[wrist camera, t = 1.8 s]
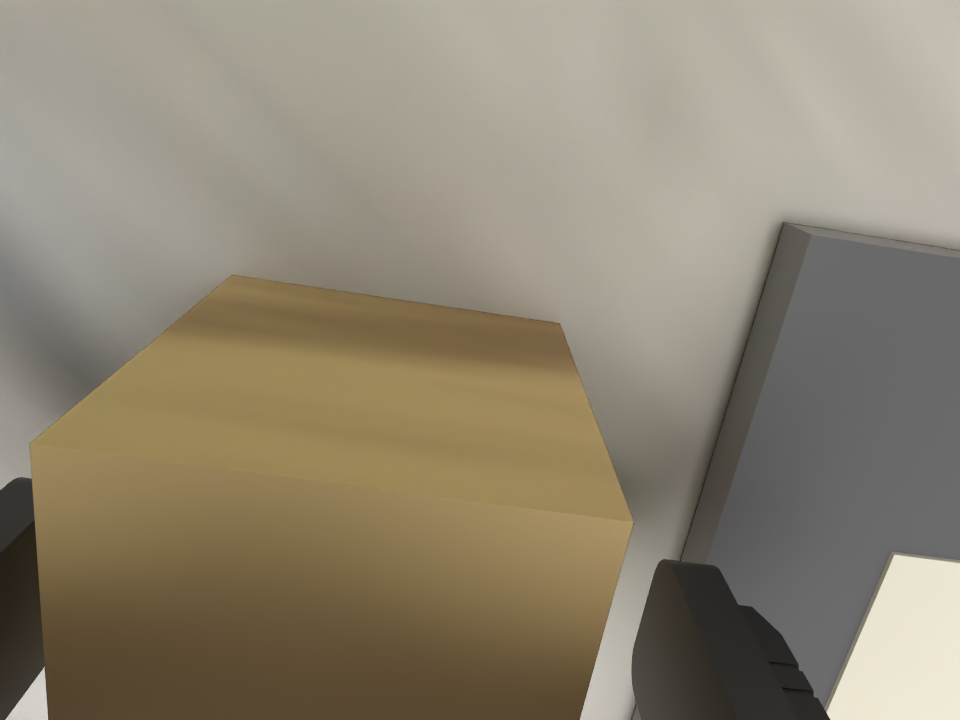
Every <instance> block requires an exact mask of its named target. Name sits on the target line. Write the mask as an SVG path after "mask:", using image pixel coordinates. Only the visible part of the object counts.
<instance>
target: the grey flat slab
mask: <svg viewBox="0 0 960 720" xmlns="http://www.w3.org/2000/svg"><path fill="white" fill-rule="evenodd" d="M681 561H683V562H691V563H699V564H707V565H714V566H716V567H718V568H719V570H720V571H721V573H722V575H723V577H724V578H725V580H726V582H727V584H728V586H729V588H730V590H731V592H732V594H733V596H734V598H735V599H736V601H737V603H738V605H743V606H752V607H753V608H754V609H755V610H756V611H757V612H758V613H759V614H760V615H762V616H763V617H764V618H765V619H766V620H767V621H768V622H769V623H770V624H771V625H772V626H773V627H774V628H775V629H776V630H777V631H778V632H779V633H781V634H782V636H783V638H784V640H785V641H786V643H787V645H788V647H789V648H790V650H791V652H792V654H793V655H794V657H795V659H796V661H797V662H798V664H799V671H803V673H804V675H805V676H806V678H807V680H808V681H809V683H810V685H811V687H812V688H813V690H814V697H815V698H818V699H819V701H820V702H821V704H822V706H823V708H824V709H825V711H826V713H827V715H828V716H829V718H830V720H960V251H959V250H953V249H947V248H941V247H935V246H928V245H922V244H916V243H910V242H903V241H897V240H891V239H885V238H879V237H872V236H866V235H860V234H854V233H848V232H841V231H835V230H829V229H823V228H816V227H810V226H804V225H798V224H792V223H785V222H784V225H783V229H782V232H781V235H780V238H779V242H778V245H777V248H776V251H775V255H774V258H773V261H772V265H771V268H770V271H769V274H768V278H767V281H766V284H765V287H764V291H763V294H762V297H761V300H760V304H759V307H758V310H757V313H756V317H755V320H754V323H753V326H752V330H751V333H750V336H749V339H748V343H747V346H746V349H745V352H744V356H743V359H742V362H741V366H740V369H739V372H738V375H737V379H736V382H735V385H734V388H733V392H732V395H731V398H730V401H729V405H728V408H727V411H726V414H725V418H724V421H723V424H722V427H721V431H720V434H719V437H718V440H717V444H716V447H715V450H714V453H713V457H712V460H711V463H710V466H709V470H708V473H707V476H706V480H705V483H704V486H703V489H702V493H701V496H700V499H699V502H698V506H697V509H696V512H695V515H694V519H693V522H692V525H691V528H690V532H689V535H688V538H687V541H686V545H685V548H684V551H683V554H682V558H681ZM632 720H641V717H640V713H639V710H638V706H637V704H636V708H635V711H634V714H633V717H632Z"/></svg>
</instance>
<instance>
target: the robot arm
mask: <svg viewBox="0 0 960 720" xmlns="http://www.w3.org/2000/svg"><path fill="white" fill-rule="evenodd" d="M44 667H45V663H44V648H43V634H42V619H41V605H40V590H39V575H38V561H37V546H36V532H35V517H34V503H33V488H32V479H30V478H22V477H21V478H16V479H14V480H12V481H11V482H10V483H8V484H7V485H6V486H5V487H4V488H3V489H1V490H0V720H5V719H6V718H7V717H8V715H9V714H10V712H11V711H12V710H13V708H14V707H15V706H16V704H17V703H18V702H19V700H20V699H21V698H22V696H23V695H24V694H25V692H26V691H27V690H28V688H29V687H30V685H31V684H32V683H33V681H34V680H35V679H36V677H37V676H38V675H39V673H40V672H41V671H42V669H43V668H44ZM632 685H633V691H634V695H635V699H636V702H637V706H638V710H639V713H640V717H641V720H830V718H829V716H828V715H827V713H826V711H825V709H824V708H823V706H822V704H821V702H820V701H819V699H818V698H815V697H814V690H813V688H812V687H811V685H810V683H809V681H808V680H807V678H806V676H805V675H804V673H803V671H799V664H798V662H797V661H796V659H795V657H794V655H793V654H792V652H791V650H790V648H789V647H788V645H787V643H786V641H785V640H784V638H783V636H782V634H781V633H779V632H778V631H777V630H776V629H775V628H774V627H773V626H772V625H771V624H770V623H769V622H768V621H767V620H766V619H765V618H764V617H763V616H762V615H760V614H759V613H758V612H757V611H756V610H755V609H754V608H753V607H752V606H743V605H738V603H737V601H736V599H735V598H734V596H733V594H732V592H731V590H730V588H729V586H728V584H727V582H726V580H725V578H724V577H723V575H722V573H721V571H720V570H719V568H718V567H716V566H714V565H707V564H699V563H691V562H683V561H675V560H667V559H663V560H661V561H660V562H659V564H658V565H657V568H656V570H655V573H654V576H653V580H652V583H651V587H650V590H649V594H648V597H647V601H646V605H645V608H644V612H643V615H642V619H641V622H640V626H639V629H638V633H637V637H636V640H635V644H634V648H633V655H632Z"/></svg>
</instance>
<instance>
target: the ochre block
mask: <svg viewBox="0 0 960 720" xmlns="http://www.w3.org/2000/svg"><path fill="white" fill-rule="evenodd" d="M30 459H31V473H32V488H33V503H34V517H35V532H36V546H37V561H38V575H39V590H40V605H41V619H42V634H43V648H44V663H45V678H46V692H47V707H48V720H580V716H581V712H582V709H583V705H584V702H585V698H586V694H587V691H588V687H589V683H590V680H591V676H592V673H593V669H594V665H595V662H596V658H597V654H598V651H599V647H600V643H601V640H602V636H603V633H604V629H605V625H606V622H607V618H608V614H609V611H610V607H611V604H612V600H613V596H614V593H615V589H616V585H617V582H618V578H619V574H620V571H621V567H622V564H623V560H624V556H625V553H626V549H627V545H628V542H629V538H630V535H631V531H632V527H633V524H634V521H633V518H632V516H631V513H630V510H629V508H628V505H627V502H626V500H625V497H624V494H623V492H622V489H621V486H620V484H619V481H618V478H617V475H616V473H615V470H614V467H613V465H612V462H611V459H610V457H609V454H608V451H607V449H606V446H605V443H604V441H603V438H602V435H601V433H600V430H599V427H598V425H597V422H596V419H595V417H594V414H593V411H592V408H591V406H590V403H589V400H588V398H587V395H586V392H585V390H584V387H583V384H582V382H581V379H580V376H579V374H578V371H577V368H576V366H575V363H574V360H573V358H572V355H571V352H570V349H569V347H568V344H567V341H566V339H565V336H564V333H563V331H562V328H561V325H560V324H559V323H553V322H546V321H539V320H533V319H526V318H519V317H512V316H506V315H499V314H492V313H485V312H479V311H472V310H465V309H458V308H452V307H445V306H438V305H431V304H425V303H418V302H411V301H404V300H398V299H391V298H384V297H377V296H371V295H364V294H357V293H350V292H344V291H337V290H330V289H323V288H317V287H310V286H303V285H296V284H290V283H283V282H276V281H270V280H263V279H256V278H249V277H243V276H236V275H232V276H230V277H229V278H228V279H227V280H226V281H224V282H223V283H222V284H221V285H220V286H218V287H217V288H216V289H215V290H214V291H212V292H211V293H210V294H209V295H208V296H206V297H205V298H204V299H203V300H202V301H200V302H199V303H198V304H197V305H196V306H194V307H193V308H192V309H191V310H190V311H188V312H187V313H186V314H185V315H184V316H182V317H181V318H180V319H179V320H178V321H176V322H175V323H174V324H173V325H172V326H170V327H169V328H168V329H167V330H166V331H164V332H163V333H162V334H161V335H160V336H158V337H157V338H156V339H155V340H154V341H152V342H151V343H150V344H149V345H147V346H146V347H145V348H144V349H143V350H141V351H140V352H139V353H138V354H137V355H135V356H134V357H133V358H132V359H131V360H129V361H128V362H127V363H126V364H125V365H123V366H122V367H121V368H120V369H119V370H117V371H116V372H115V373H114V374H113V375H111V376H110V377H109V378H108V379H107V380H105V381H104V382H103V383H102V384H101V385H99V386H98V387H97V388H96V389H95V390H93V391H92V392H91V393H90V394H89V395H87V396H86V397H85V398H84V399H83V400H81V401H80V402H79V403H78V404H77V405H75V406H74V407H73V408H72V409H71V410H69V411H68V412H67V413H66V414H65V415H63V416H62V417H61V418H60V419H59V420H57V421H56V422H55V423H54V424H52V425H51V426H50V427H49V428H48V429H46V430H45V431H44V432H43V433H42V434H40V435H39V436H38V437H37V438H36V439H34V440H33V441H32V442H31V443H30Z"/></svg>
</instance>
